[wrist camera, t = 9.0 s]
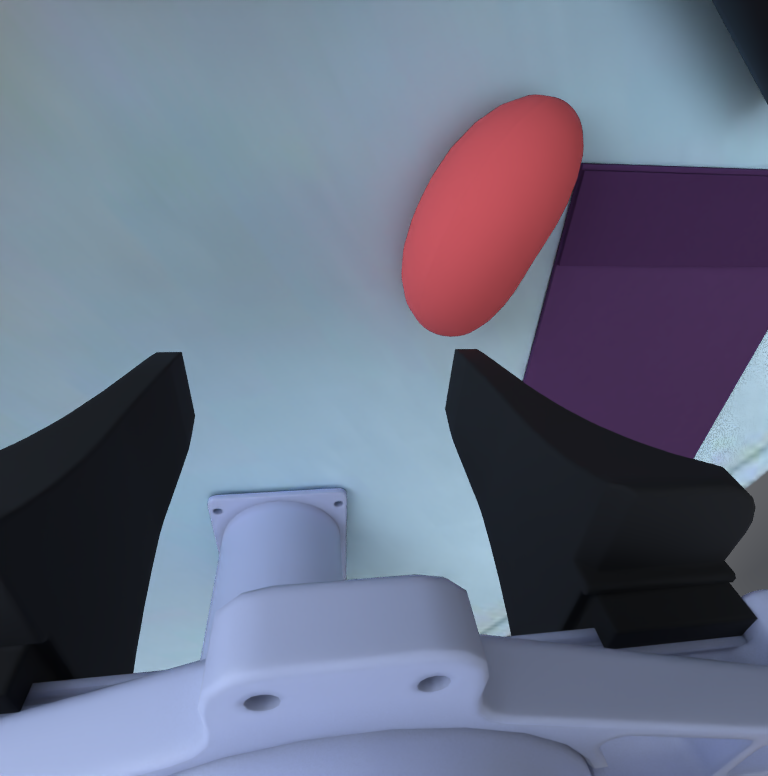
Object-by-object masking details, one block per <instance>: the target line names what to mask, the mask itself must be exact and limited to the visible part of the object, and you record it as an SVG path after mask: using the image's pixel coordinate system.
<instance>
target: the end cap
mask: <svg viewBox="0 0 768 776" xmlns="http://www.w3.org/2000/svg"><path fill="white" fill-rule="evenodd" d="M712 1H713V3H714V5H715V7H716V9H717V11H718V13H719V15H720V16H721V18H722V20H723V22H724V24H725V26H726V28H727V30H728V31H729V33H730V35H731V37H732V39H733V41H734V43H735V45H736V46H737V48H738V50H739V52H740V54H741V56H742V58H743V59H744V61H745V63H746V65H747V67H748V69H749V71H750V73H751V74H752V76H753V78H754V80H755V82H756V84H757V86H758V88H759V89H760V91H761V93H762V95H763V97H764V99H765V101H766V103H767V104H768V0H712Z"/></svg>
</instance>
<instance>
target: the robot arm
mask: <svg viewBox="0 0 768 776" xmlns="http://www.w3.org/2000/svg"><path fill="white" fill-rule="evenodd" d="M445 410H446V415H447V419H448V423H449V428H450V432H451V435H452V439H453V442H454V444H455V447H456V449H457V452H458V454H459V457H460V460H461V462H462V465H463V467H464V469H465V472H466V474H467V477H468V479H469V482H470V484H471V487H472V489H473V492H474V494H475V497H476V499H477V502H478V505H479V507H480V510H481V513H482V516H483V520H484V523H485V527H486V531H487V534H488V538H489V541H490V545H491V549H492V553H493V557H494V561H495V565H496V569H497V573H498V577H499V581H500V585H501V590H502V594H503V599H504V603H505V608H506V612H507V617H508V621H509V627H510V632H511V636H507V637H501V636H492V635H483V634H479V632H478V629H477V625H476V622H475V619H474V615H473V612H472V608H471V605H470V601H469V598H468V595H467V591H466V590H464V589H463V588H461V587H460V586H458V585H456V584H455V583H453V582H452V581H450V580H448V579H446V578H444V577H438V576H426V575H403V576H390V577H377V578H364V579H351V580H346V527H347V494H346V491H345V490H344V489H342V488H330V489H313V490H295V491H278V492H261V493H243V494H226V495H214V496H211V497H210V498H209V500H208V510H209V514H210V518H211V522H212V526H213V531H214V535H215V539H216V543H217V547H218V552H219V560H218V566H217V571H216V577H215V582H214V588H213V593H212V599H211V604H210V610H209V615H208V621H207V626H206V632H205V637H204V643H203V648H202V654H201V659H200V660H199V661H196V662H192V663H189V664H185V665H182V666H178V667H175V668H171V669H168V670H162V671H152V672H142V673H133V671H134V664H135V658H136V651H137V646H138V640H139V634H140V629H141V623H142V617H143V611H144V606H145V601H146V596H147V591H148V586H149V581H150V576H151V571H152V567H153V562H154V558H155V553H156V549H157V544H158V540H159V536H160V532H161V529H162V525H163V522H164V519H165V516H166V513H167V510H168V507H169V504H170V502H171V499H172V496H173V493H174V490H175V487H176V485H177V482H178V479H179V476H180V473H181V470H182V467H183V465H184V462H185V459H186V456H187V453H188V450H189V446H190V441H191V436H192V430H193V425H194V419H195V413H194V408H193V404H192V399H191V394H190V389H189V384H188V380H187V375H186V370H185V365H184V361H183V356H182V352H157V353H155V354H153V355H152V356H150V357H149V358H147V359H146V360H145V361H143V362H142V363H140V364H139V365H138V366H136V367H135V368H134V369H132V370H131V371H130V372H128V373H127V374H126V375H124V376H123V377H122V378H120V379H119V380H118V381H116V382H115V383H114V384H112V385H111V386H109V387H108V388H107V389H105V390H104V391H103V392H101V393H100V394H98V395H97V396H95V397H94V398H92V399H91V400H89V401H88V402H86V403H85V404H83V405H82V406H80V407H79V408H77V409H76V410H74V411H73V412H71V413H70V414H68V415H66V416H65V417H63V418H61V419H60V420H58V421H56V422H54V423H53V424H51V425H49V426H47V427H46V428H44V429H42V430H40V431H38V432H36V433H35V434H33V435H31V436H29V437H27V438H25V439H23V440H21V441H19V442H17V443H15V444H13V445H10V446H8V447H6V448H4V449H2V450H0V776H768V589H763V590H757V591H752V592H750V593H748V594H746V595H744V596H742V597H740V596H739V595H738V593H737V592H736V591H735V590H734V588H733V587H732V586H731V584H730V583H729V582H733V581H734V580H735V579H736V577H735V573H734V572H733V571H732V569H731V568H730V567H729V566H728V565H727V563H726V562H725V561H724V560H725V559H726V558H727V556H728V555H729V554H730V553H731V551H732V550H733V549H734V547H735V546H736V545H737V543H738V542H739V541H740V539H741V538H742V537H743V536H744V534H745V533H746V531H747V530H748V528H749V526H750V525H751V523H752V521H753V516H754V512H755V504H754V500H753V498H752V496H750V494H749V493H748V492H747V491H746V490H745V489H744V488H743V487H742V486H741V485H740V484H739V483H738V482H737V481H736V480H735V479H734V478H733V477H732V476H731V475H730V474H729V473H728V472H727V471H726V470H725V469H724V468H723V467H721V466H717V465H713V464H710V463H706V462H702V461H699V460H695V459H691V458H688V457H684V456H680V455H676V454H673V453H670V452H667V451H664V450H661V449H658V448H655V447H652V446H649V445H646V444H643V443H640V442H638V441H635V440H632V439H630V438H627V437H625V436H622V435H620V434H617V433H615V432H613V431H610V430H608V429H606V428H603V427H601V426H599V425H597V424H595V423H592V422H590V421H588V420H586V419H584V418H582V417H581V416H579V415H577V414H575V413H573V412H571V411H569V410H567V409H565V408H564V407H562V406H560V405H558V404H557V403H555V402H553V401H552V400H550V399H549V398H547V397H545V396H544V395H542V394H541V393H539V392H537V391H536V390H534V389H533V388H531V387H530V386H528V385H527V384H526V383H524V382H523V381H521V380H520V379H518V378H517V377H516V376H514V375H513V374H511V373H510V372H509V371H507V370H506V369H505V368H503V367H502V366H501V365H499V364H498V363H496V362H495V361H494V360H492V359H491V358H490V357H488V356H487V355H485V354H484V353H482V352H481V351H479V350H477V349H455V354H454V360H453V365H452V371H451V377H450V383H449V389H448V395H447V401H446V407H445ZM336 501H340V502H336ZM217 508H218V509H217Z"/></svg>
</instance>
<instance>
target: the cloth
mask: <svg viewBox="0 0 768 776" xmlns="http://www.w3.org/2000/svg"><path fill="white" fill-rule="evenodd" d="M767 330H768V169H739V168H710V167H682V166H653V165H624V164H595V163H581V165H580V169H579V173H578V178H577V181H576V183H575V187H574V191H573V195H572V198H571V202H570V206H569V210H568V213H567V217H566V221H565V225H564V229H563V232H562V236H561V240H560V244H559V247H558V251H557V255H556V259H555V263H554V266H553V270H552V274H551V278H550V282H549V285H548V289H547V293H546V297H545V300H544V304H543V308H542V312H541V316H540V319H539V323H538V327H537V331H536V334H535V338H534V342H533V346H532V350H531V353H530V357H529V361H528V365H527V368H526V372H525V376H524V380H523V382H524V383H526V384H527V385H528V386H530V387H531V388H533V389H534V390H536V391H537V392H539V393H541V394H542V395H544V396H545V397H547V398H549V399H550V400H552V401H553V402H555V403H557V404H558V405H560V406H562V407H564V408H565V409H567V410H569V411H571V412H573V413H575V414H577V415H579V416H581V417H582V418H584V419H586V420H588V421H590V422H592V423H595V424H597V425H599V426H601V427H603V428H606V429H608V430H610V431H613V432H615V433H617V434H620V435H622V436H625V437H627V438H630V439H632V440H635V441H638V442H640V443H643V444H646V445H649V446H652V447H655V448H658V449H661V450H664V451H667V452H670V453H673V454H676V455H680V456H684V457H688V458H691V459H693V458H694V457H695V455H696V453H697V451H698V450H699V448H700V446H701V444H702V443H703V441H704V439H705V438H706V436H707V434H708V432H709V431H710V429H711V427H712V425H713V424H714V422H715V420H716V418H717V417H718V415H719V413H720V412H721V410H722V408H723V406H724V405H725V403H726V401H727V399H728V398H729V396H730V394H731V393H732V391H733V389H734V387H735V386H736V384H737V382H738V380H739V379H740V377H741V375H742V373H743V372H744V370H745V368H746V367H747V365H748V363H749V361H750V360H751V358H752V356H753V354H754V353H755V351H756V349H757V348H758V346H759V344H760V342H761V341H762V339H763V337H764V335H765V334H766V332H767Z"/></svg>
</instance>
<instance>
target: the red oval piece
mask: <svg viewBox="0 0 768 776" xmlns="http://www.w3.org/2000/svg"><path fill="white" fill-rule="evenodd" d="M582 156H583V130H582V125H581V122H580V119H579V117H578V115H577V113H576V112H575V110H574V109H573V108H572V107H571V106H570V105H569V104H568V103H566V102H565V101H563V100H561V99H559V98H556V97H551V96H544V95H528V96H525V97H522V98H519V99H516V100H514V101H511V102H508V103H505V104H502V105H501V106H499V107H497V108H496V109H494V110H493V111H491V112H490V113H488V114H487V115H486V116H484V117H483V118H481V119H480V120H478V121H477V122H476V123H474V124H473V125H472V127H471V128H470V129H469V130H468V131H467V132H466V133H465V134H464V135H463V136H462V137H461V138H460V139H459V140H458V141H457V142H456V143H455V144H454V145H453V146H452V148H451V149H450V150H449V152H448V153H447V155H446V156H445V158H444V159H443V161H442V162H441V164H440V165H439V167H438V168H437V170H436V171H435V173H434V174H433V176H432V178H431V180H430V181H429V183H428V185H427V187H426V189H425V191H424V193H423V195H422V197H421V200H420V202H419V204H418V206H417V208H416V211H415V213H414V216H413V218H412V221H411V224H410V228H409V231H408V235H407V238H406V241H405V245H404V250H403V261H402V282H403V287H404V293H405V298H406V301H407V304H408V306H409V308H410V310H411V311H412V313H413V314H414V316H415V317H416V319H417V320H418V321H419V323H420V324H421V325H422V326H423V327H424V328H426V329H427V330H429V331H431V332H433V333H435V334H438V335H442V336H450V337H451V336H461V335H465V334H468V333H470V332H472V331H474V330H476V329H477V328H479V327H481V326H482V325H484V324H485V323H486V322H488V321H489V320H490V319H491V318H492V317H493V316H494V315H495V314H496V313H497V312H498V311H499V310H500V309H501V308H502V307H503V306H504V305H505V303H506V302H507V301H508V300H509V298H510V297H511V296H512V294H513V293H514V292H515V290H516V289H517V287H518V285H519V284H520V282H521V281H522V279H523V278H524V276H525V274H526V273H527V271H528V269H529V268H530V266H531V264H532V263H533V261H534V259H535V258H536V256H537V255H538V253H539V252H540V250H541V249H542V247H543V246H544V244H545V242H546V241H547V239H548V238H549V236H550V234H551V233H552V231H553V230H554V228H555V226H556V225H557V223H558V221H559V219H560V217H561V215H562V213H563V211H564V209H565V207H566V205H567V204H568V201H569V198H570V196H571V193H572V191H573V188H574V186H575V183H576V181H577V178H578V173H579V169H580V165H581V161H582Z"/></svg>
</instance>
